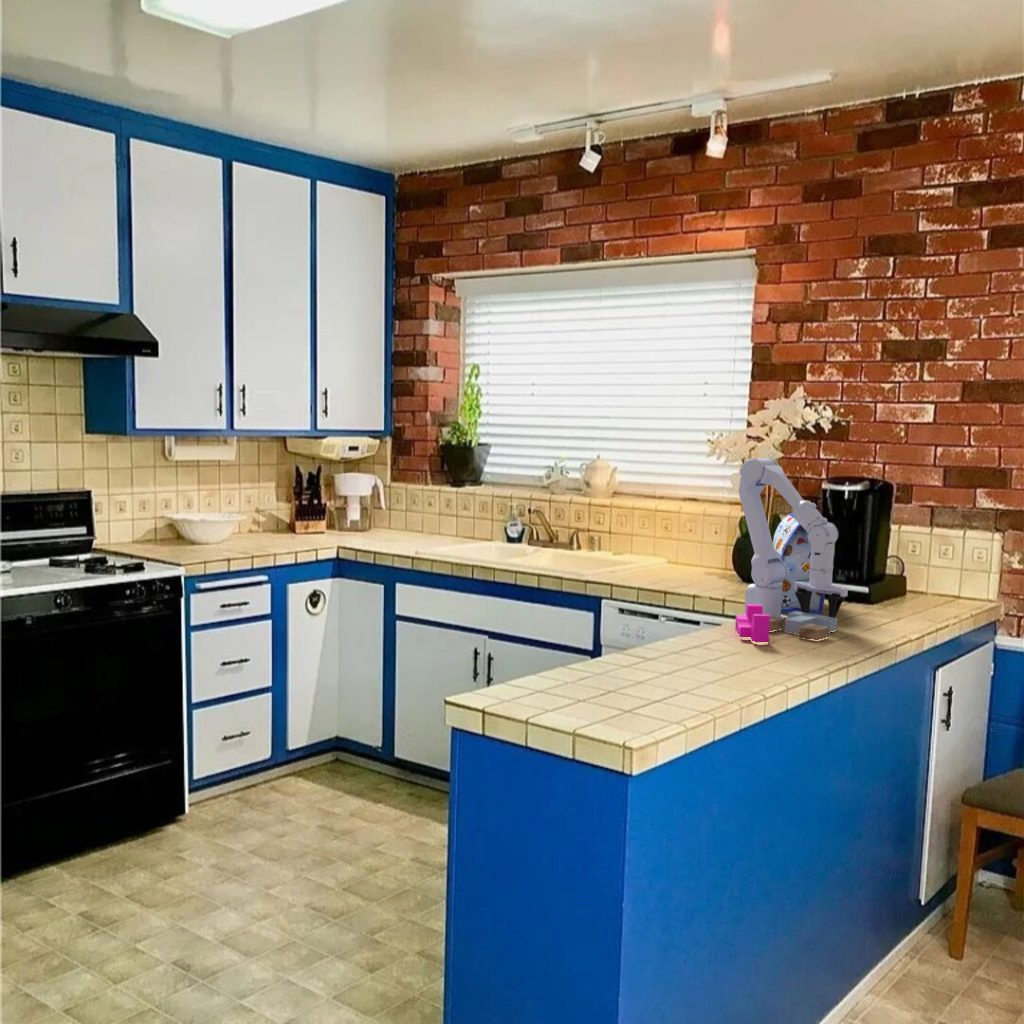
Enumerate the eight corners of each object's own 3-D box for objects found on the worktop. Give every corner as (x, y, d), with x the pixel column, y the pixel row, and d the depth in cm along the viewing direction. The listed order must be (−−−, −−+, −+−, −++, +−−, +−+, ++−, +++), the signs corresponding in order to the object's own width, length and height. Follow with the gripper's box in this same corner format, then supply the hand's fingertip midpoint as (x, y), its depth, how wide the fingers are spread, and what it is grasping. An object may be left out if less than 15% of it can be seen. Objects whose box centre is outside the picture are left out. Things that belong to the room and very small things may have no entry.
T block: (771, 629, 269) (772, 616, 269) (795, 623, 278) (796, 610, 277) (813, 637, 261) (814, 624, 261) (836, 631, 269) (837, 618, 269)
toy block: (734, 632, 267) (736, 603, 266) (759, 633, 266) (761, 604, 265) (742, 645, 252) (743, 615, 251) (768, 646, 251) (769, 616, 250)
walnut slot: (753, 629, 269) (754, 618, 269) (765, 626, 273) (766, 615, 273) (816, 642, 256) (817, 630, 256) (828, 638, 260) (829, 626, 260)
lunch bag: (833, 615, 291) (839, 520, 288) (773, 612, 293) (778, 518, 290) (817, 600, 314) (822, 512, 311) (762, 598, 315) (766, 510, 312)
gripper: (788, 566, 275) (786, 617, 277) (839, 573, 265) (836, 626, 266) (802, 564, 280) (799, 613, 282) (852, 571, 270) (849, 622, 271)
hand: (818, 619), depth 274 cm, fingers open, 7 cm apart
